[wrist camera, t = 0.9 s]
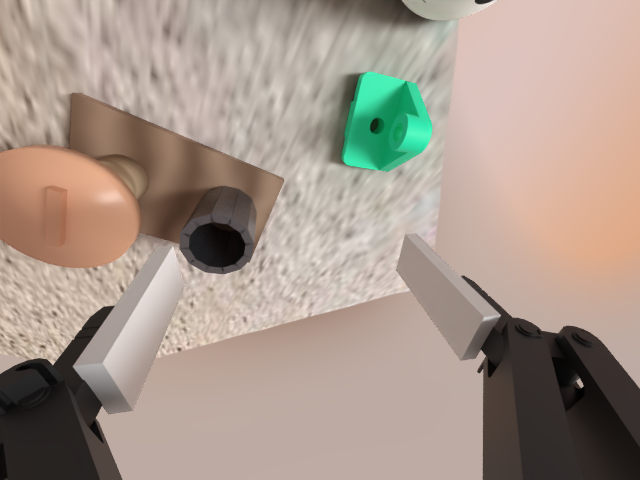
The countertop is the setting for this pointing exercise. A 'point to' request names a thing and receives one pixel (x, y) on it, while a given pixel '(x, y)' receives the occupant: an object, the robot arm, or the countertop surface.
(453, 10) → the milk container
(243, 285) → the countertop surface
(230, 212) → the tube
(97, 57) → the countertop surface
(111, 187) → the domed pot lid
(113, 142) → the brown board with post
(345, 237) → the countertop surface
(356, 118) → the camera mount
